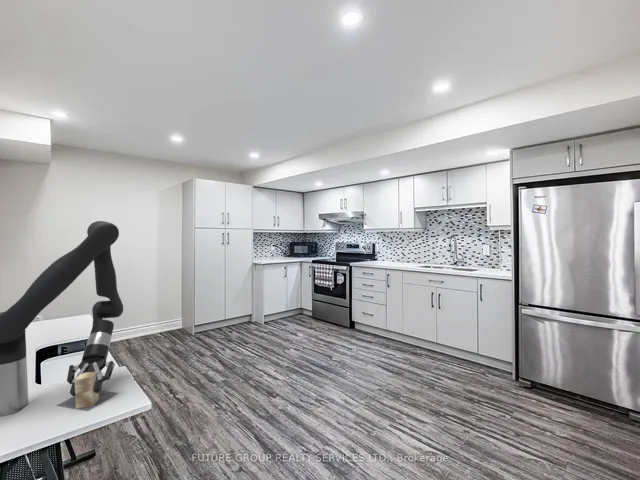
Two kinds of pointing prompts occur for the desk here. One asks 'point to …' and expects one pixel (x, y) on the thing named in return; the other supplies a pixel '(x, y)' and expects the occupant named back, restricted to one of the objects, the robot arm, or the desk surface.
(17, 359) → the robot arm
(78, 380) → the maple block
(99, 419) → the desk surface
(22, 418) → the desk surface
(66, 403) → the rubber mat
